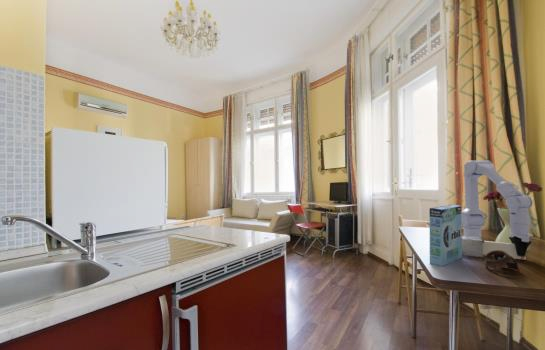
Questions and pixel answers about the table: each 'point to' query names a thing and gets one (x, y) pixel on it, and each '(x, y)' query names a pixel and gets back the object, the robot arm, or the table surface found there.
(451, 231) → the gum box
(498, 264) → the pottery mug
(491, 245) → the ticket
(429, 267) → the table surface
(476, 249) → the dispenser
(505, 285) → the table surface
